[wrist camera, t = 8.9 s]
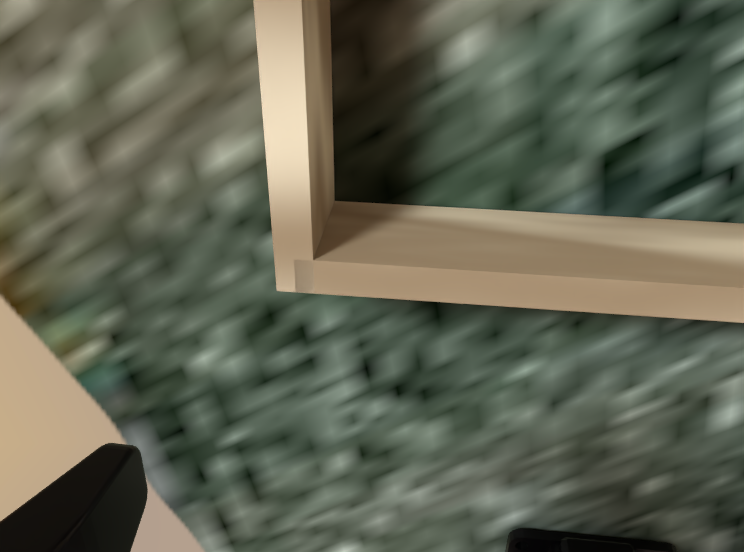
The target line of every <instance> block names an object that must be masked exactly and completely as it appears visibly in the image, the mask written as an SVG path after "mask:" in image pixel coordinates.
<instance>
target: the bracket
mask: <svg viewBox="0 0 744 552" xmlns="http://www.w3.org/2000/svg"><path fill="white" fill-rule="evenodd" d="M254 12H255V25H256V37H257V49H258V62H259V74H260V87H261V99H262V112H263V124H264V136H265V149H266V161H267V174H268V186H269V199H270V211H271V223H272V236H273V248H274V261H275V273H276V285H277V291H286V292H301V293H316V294H330V295H345V296H359V297H374V298H389V299H403V300H418V301H433V302H447V303H462V304H476V305H491V306H506V307H520V308H535V309H550V310H564V311H579V312H593V313H608V314H623V315H637V316H652V317H666V318H681V319H696V320H710V321H725V322H740V323H744V224H739V223H721V222H704V221H686V220H668V219H650V218H632V217H614V216H596V215H578V214H560V213H542V212H524V211H506V210H489V209H471V208H453V207H435V206H417V205H399V204H381V203H363V202H345V201H335V192H334V148H333V105H332V62H331V19H330V0H254Z"/></svg>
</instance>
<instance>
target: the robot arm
mask: <svg viewBox="0 0 744 552" xmlns="http://www.w3.org/2000/svg"><path fill="white" fill-rule="evenodd" d="M146 501H147V483H146V478H145V473H144V468H143V463H142V458H141V453H140V451H139V449H138V448H137V447H136V446H133V445H124V444H116V443H108V444H105V445H103V446H101V447H100V448H98V449H97V450H96V451H94V452H93V453H91V454H90V455H89V456H87V457H86V458H85V459H83V460H82V461H81V462H80V463H78V464H77V465H76V466H74V467H73V468H71V469H70V470H69V471H67V472H66V473H65V474H64V475H62V476H61V477H59V478H58V479H57V480H55V481H54V482H53V483H51V484H50V485H49V486H47V487H46V488H45V489H43V490H42V491H41V492H39V493H38V494H37V495H36V496H34V497H33V498H31V499H30V500H29V501H27V502H26V503H25V504H23V505H22V506H21V507H19V508H18V509H17V510H15V511H14V512H13V513H11V514H10V515H8V516H7V517H6V518H5V519H3V520H2V521H0V552H130V551H131V548H132V545H133V542H134V538H135V536H136V533H137V530H138V527H139V524H140V521H141V518H142V515H143V512H144V509H145V505H146ZM505 552H677V549H676V547H675V546H674V545H672V544H669V543H662V542H652V541H642V540H631V539H621V538H611V537H600V536H590V535H580V534H570V533H559V532H549V531H539V530H529V529H516V530H513V531H512V532H510V533H509V535H508V540H507V545H506V551H505Z"/></svg>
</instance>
